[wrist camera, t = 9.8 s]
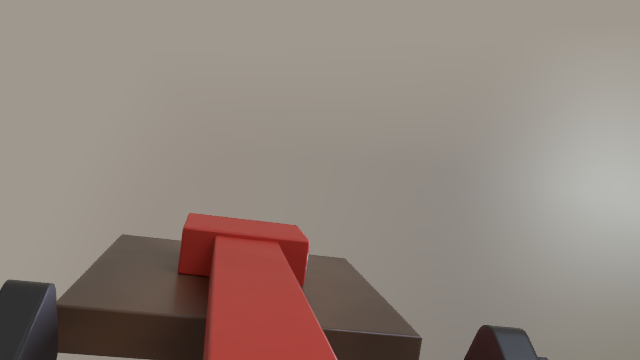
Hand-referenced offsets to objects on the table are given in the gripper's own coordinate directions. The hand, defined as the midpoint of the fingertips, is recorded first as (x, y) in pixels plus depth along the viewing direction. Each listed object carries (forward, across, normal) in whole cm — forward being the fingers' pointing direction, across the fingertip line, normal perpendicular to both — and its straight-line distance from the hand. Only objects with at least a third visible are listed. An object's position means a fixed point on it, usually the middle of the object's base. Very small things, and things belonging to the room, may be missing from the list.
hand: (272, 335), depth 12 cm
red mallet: (+5, 0, +5) cm, 7 cm away
